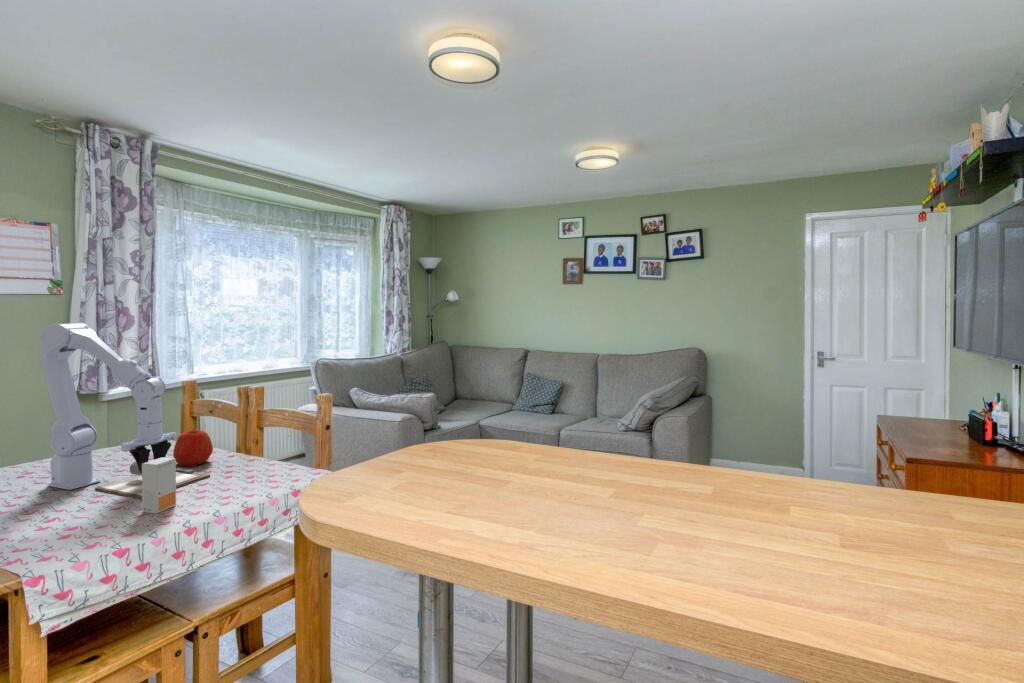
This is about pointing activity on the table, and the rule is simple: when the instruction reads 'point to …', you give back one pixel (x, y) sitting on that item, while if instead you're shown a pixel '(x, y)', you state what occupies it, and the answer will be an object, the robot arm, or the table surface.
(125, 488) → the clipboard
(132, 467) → the marker
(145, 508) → the skincare box
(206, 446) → the apple
